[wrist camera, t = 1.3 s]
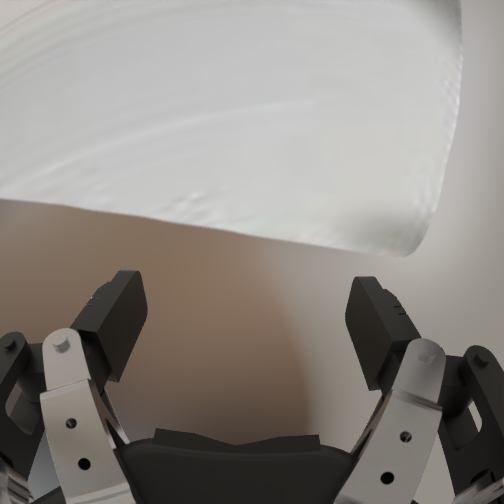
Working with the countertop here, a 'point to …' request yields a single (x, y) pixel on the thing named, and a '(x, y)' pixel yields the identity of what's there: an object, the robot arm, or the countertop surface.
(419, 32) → the countertop surface
